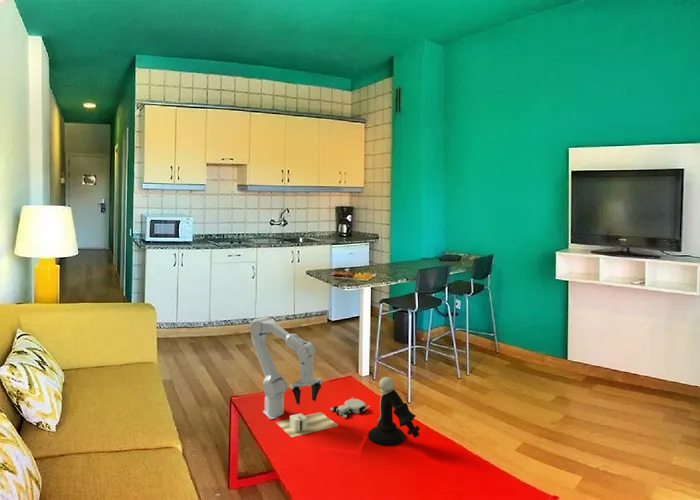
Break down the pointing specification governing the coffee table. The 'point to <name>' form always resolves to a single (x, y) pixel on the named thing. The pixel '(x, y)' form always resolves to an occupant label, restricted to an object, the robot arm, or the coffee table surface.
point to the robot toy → (350, 407)
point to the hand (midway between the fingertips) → (305, 401)
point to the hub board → (308, 424)
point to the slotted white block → (298, 422)
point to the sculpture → (386, 428)
